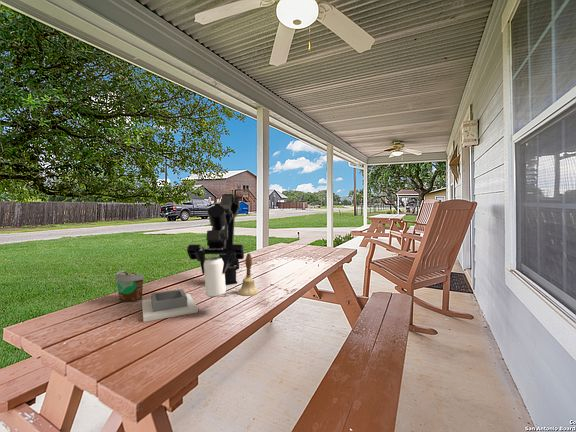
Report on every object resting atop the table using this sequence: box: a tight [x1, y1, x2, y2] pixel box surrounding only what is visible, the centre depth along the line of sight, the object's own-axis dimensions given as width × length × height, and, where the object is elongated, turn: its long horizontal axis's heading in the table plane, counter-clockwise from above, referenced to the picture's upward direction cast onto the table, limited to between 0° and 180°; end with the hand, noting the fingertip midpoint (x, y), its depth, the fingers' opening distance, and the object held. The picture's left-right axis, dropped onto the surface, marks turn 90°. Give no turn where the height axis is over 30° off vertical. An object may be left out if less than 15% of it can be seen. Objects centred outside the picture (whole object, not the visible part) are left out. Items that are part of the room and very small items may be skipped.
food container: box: [114, 269, 145, 303], centre depth 102 cm, size 12×6×10 cm, turn 62°
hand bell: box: [237, 252, 259, 297], centre depth 112 cm, size 8×8×16 cm
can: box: [203, 256, 227, 298], centre depth 92 cm, size 6×6×12 cm
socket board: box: [141, 288, 199, 323], centre depth 95 cm, size 16×16×4 cm
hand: (213, 273), depth 90 cm, fingers closed on can, 6 cm apart
